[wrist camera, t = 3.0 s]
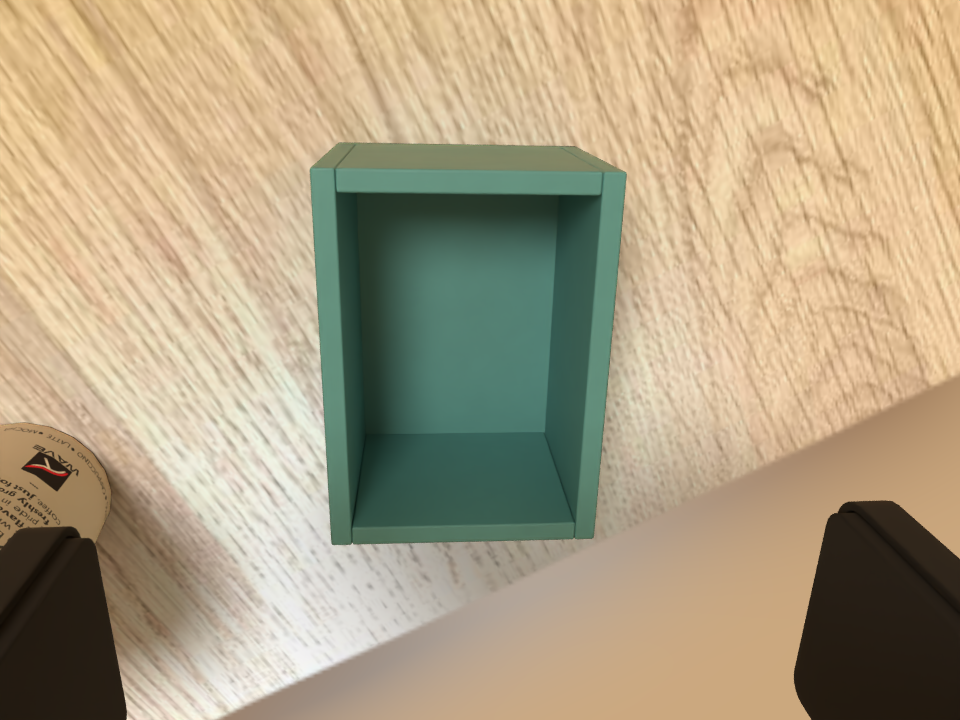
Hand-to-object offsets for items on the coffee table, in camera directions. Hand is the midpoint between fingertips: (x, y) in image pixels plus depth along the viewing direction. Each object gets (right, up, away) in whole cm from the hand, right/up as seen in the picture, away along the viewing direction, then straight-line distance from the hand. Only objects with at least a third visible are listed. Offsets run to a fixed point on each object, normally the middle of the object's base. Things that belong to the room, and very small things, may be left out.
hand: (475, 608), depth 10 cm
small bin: (-1, +5, +12) cm, 13 cm away
